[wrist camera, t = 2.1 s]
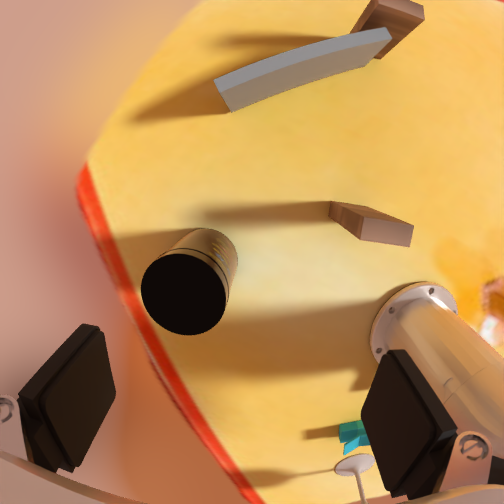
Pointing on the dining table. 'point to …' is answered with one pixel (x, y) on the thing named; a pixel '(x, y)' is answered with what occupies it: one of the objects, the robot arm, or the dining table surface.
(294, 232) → the dining table surface
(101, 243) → the dining table surface
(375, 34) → the door
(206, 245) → the supplement container
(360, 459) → the wineglass
